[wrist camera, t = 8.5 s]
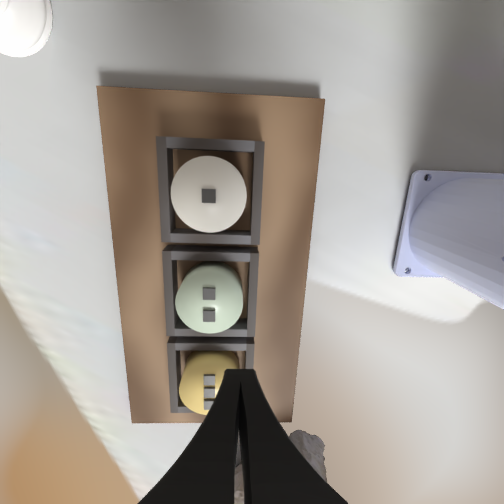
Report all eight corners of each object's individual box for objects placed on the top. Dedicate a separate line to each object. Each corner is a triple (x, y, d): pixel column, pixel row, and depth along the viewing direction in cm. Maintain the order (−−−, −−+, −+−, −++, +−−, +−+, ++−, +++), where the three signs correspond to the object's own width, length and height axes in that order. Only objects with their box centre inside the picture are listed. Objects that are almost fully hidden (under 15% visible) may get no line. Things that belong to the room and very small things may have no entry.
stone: (214, 475, 28) (208, 551, 23) (267, 406, 26) (276, 470, 21) (280, 503, 30) (290, 580, 24) (336, 439, 28) (361, 507, 22)
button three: (240, 345, 22) (240, 367, 20) (239, 390, 23) (239, 417, 21) (184, 344, 22) (177, 367, 19) (185, 390, 23) (179, 417, 21)
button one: (246, 158, 18) (248, 157, 16) (244, 225, 19) (245, 234, 17) (177, 155, 18) (168, 154, 15) (180, 223, 19) (171, 232, 17)
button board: (320, 102, 19) (333, 92, 16) (289, 412, 26) (294, 438, 24) (103, 90, 18) (82, 77, 15) (135, 413, 25) (124, 440, 23)
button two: (243, 261, 20) (244, 274, 18) (241, 316, 21) (241, 335, 19) (181, 259, 20) (173, 273, 17) (183, 315, 21) (176, 335, 19)
